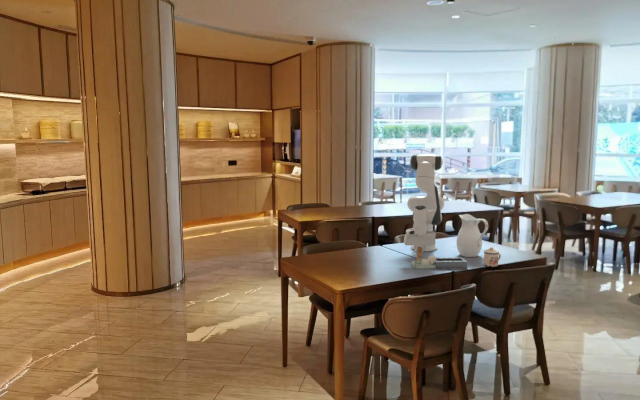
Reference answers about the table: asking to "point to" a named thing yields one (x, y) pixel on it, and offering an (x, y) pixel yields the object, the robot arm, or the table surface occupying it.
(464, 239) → the pitcher
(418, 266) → the tray
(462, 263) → the grooved board
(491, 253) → the teacup with lid
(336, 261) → the table surface
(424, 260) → the cream block
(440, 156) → the robot arm
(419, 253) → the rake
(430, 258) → the cream block
